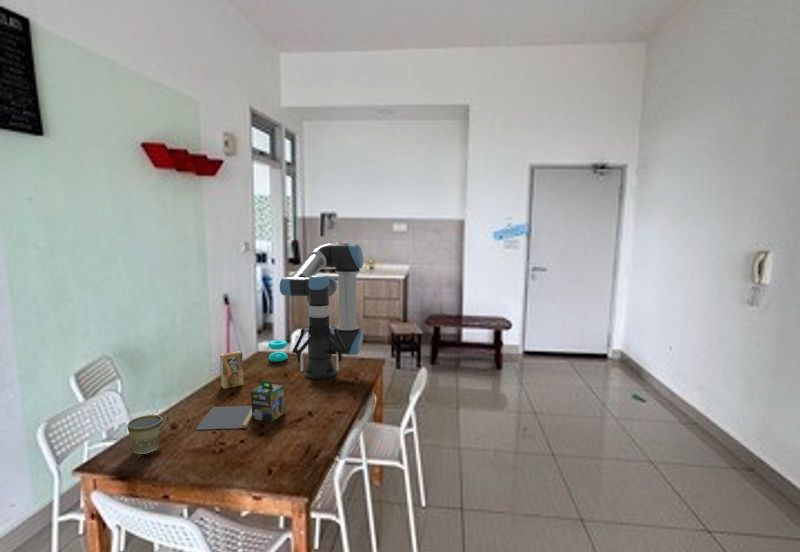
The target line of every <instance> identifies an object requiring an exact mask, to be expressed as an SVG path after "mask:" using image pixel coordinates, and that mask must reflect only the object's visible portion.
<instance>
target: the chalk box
mask: <svg viewBox="0 0 800 552" xmlns="http://www.w3.org/2000/svg"><path fill="white" fill-rule="evenodd" d="M260 384H261V385H259V386H257V387H256V388H254V389H252V390H251V392H250V398H251V400H250V401H251V406H252V419H251V420H257V421H261V422H266V423H267V422H268V423H271V422H272V423H273V422H275V421H276V420H277V419H278V418H280V417H282V416H283V415H284V414H285V413H286V404H285V389H284V388H285V385H282V384H274V383H273V384H272V381H270V380H264V379H262V380H260Z"/></svg>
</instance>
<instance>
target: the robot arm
mask: <svg viewBox="0 0 800 552" xmlns="http://www.w3.org/2000/svg"><path fill="white" fill-rule="evenodd" d="M363 266H364V257H363V251H362V248H361V246H360V245H359V244H357V243H325V244H322V245H318V246H317V247H315V248H313V249H312V250H311V251H309V253H308V254H307V255H306V260H304V262H303V263H302V265H300V267H299V268H298V269H297V270H296V271H295V272H294V273H293V274H292V275H291V276H286V277H282V278H281V279H280V282H279V292H280V294H281V295H282V296H286V297H308V315H309V317H308V320H309V321H308V323H309V328H304V327H302V328H301V329H300V335H299V337H298V339H297V341H296V343H295V345H294V347H293V349H292V353H293V354H296V356H297V357H296V358H297V362H298V363H300V372H303V371H304V375H305V377H307V378H309V379H312V380H313V379H315V380H323V379H329V378H332V377H334V376H335V375H336V374H337V371H339V369H340V368H339V367H340V362H342V358H343V357H342V355H343V356H344V355H345V356H346V355H347V356H358V354H360V351H361V349H362V345H363V339H364V334H363V331H362V330H360V326H359V325H358V324H357V275H358V274H359V273H360V269H362V268H363ZM326 268H330V269H331V268H332V269H333V268H334V269H335V273H336V274H337V276H338V283H337V281H336V279H334V278H333V277H332V276H331V277H329V276H328V275H325V274H318V273H319V271H321V270H323V269H326ZM337 289H338V323H337V325H336V326H335V327H332V326H330V316H329V315H330V296H333V295H334V294H335V293H336V291H337ZM306 334H307V340H306V341H305V342H304V343H303V344H302V345H301V346H300V344H301V342H302V340H303V338H304V336H305V335H306ZM299 346H300V348H299V349H298V347H299ZM306 348H307V356H308V358H307V363H306V366H305V369H304V350H305V349H306ZM333 355H336V361H335V362H336V366H335V362H334V360H333Z"/></svg>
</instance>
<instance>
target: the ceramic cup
mask: <svg viewBox="0 0 800 552" xmlns="http://www.w3.org/2000/svg"><path fill="white" fill-rule="evenodd" d="M165 418H167V419H166V421H165V423H164V424H163V425H162V423H163V420H164V419H165ZM169 421H170V418H169V415H162V416H161V415H159V414H148V415H142V416H138V417H135V418H133V419H131V420H129V421H128V422H127V424H126V427H127V430H128V434H129V435H128V436H129V437H130V441H131V444H132V448H133V451H134V453H135V454H136V453H137V454H136V455H138V454H146V455H148V454H147V453H150V452H152V453H154V452H153V451H155V450H156V451H157V450H158V448H159V443H160V435H161V432H162V430H163V429H164V428H165V427H166V425H167V424H168V423H169ZM156 451H155V452H156ZM150 454H151V453H150Z"/></svg>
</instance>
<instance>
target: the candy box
mask: <svg viewBox="0 0 800 552" xmlns="http://www.w3.org/2000/svg"><path fill="white" fill-rule="evenodd" d="M219 355H220V357H219V358H220V359H219V360H220V361H219V363H220V379H221V381H220V383H221V385H220V387H222V388H223V390H225V389H230V388H234V387H238V386H243V385H244V372H243V371H244V369H243V368H244V367H243V365H244V363H243V353H242V352H241V351H240V350H239V351H232V352H226V353H221V354H219Z"/></svg>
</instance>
